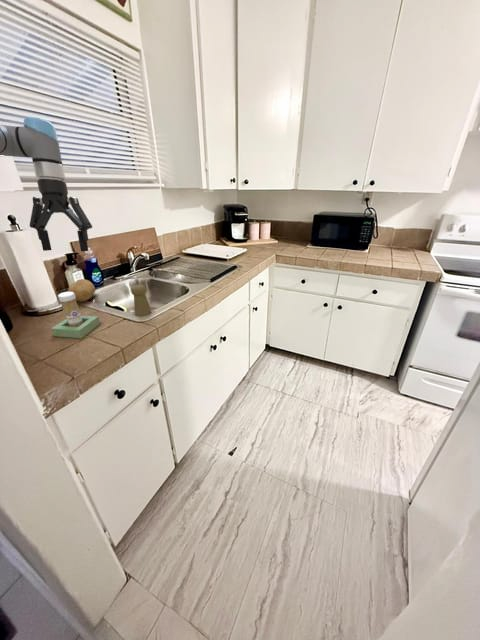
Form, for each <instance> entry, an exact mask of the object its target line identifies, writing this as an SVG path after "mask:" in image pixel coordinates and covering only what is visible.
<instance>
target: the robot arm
mask: <svg viewBox="0 0 480 640" xmlns="http://www.w3.org/2000/svg"><path fill="white" fill-rule="evenodd" d="M0 155H4V156H3V157H17V158H19V157H20V158H21V157H22V158H31V160H32V165H33V169H34V174H35V177H36V178H37V181H36V183H37V187H38V191H39V193H40V194H41V197H38V196H32V210H31V215H30V220H29V227H30V228H31V229H34V230H36V232H37V236H38V240H39V241H40V243H41V248H42V251H43V252H47V251H52V245H51V241H50V235H49V232H48V230H47V229H46V227H47V225H48V223H49V221H50V219H51V217H52V215H54V213H55V214H59V213H61V214H64V215H65V216H66V217H67V218H68V219H69V220H70V221H71V222H72V223H73V224H74V225H75V226H76V228H77V230H76V231H77V238H78V243H79V249H80V252H89V246H88V241H89V236H88V235H89V233H88V230H90V229H93V225H92V223H91V221H90V220H89V218H88V216H87V215H86V214H85V211H84V210H83V209H82V206H81V205H80V201H79V198H77V197H74V196H69V197H68V195H69V192H68V191H69V190H68V185H67V183H66V181H65V180H66V175H65V171H64V165H63V160H62V154H61V148H60V141H59V139H58V135H57V131H56V127H55V125H54V124H52V122H50V121H49V120H46V119H43V118H40V117H35V116H31V117H28V116H27V117H25V118H23V126H22V125H21V126H15V125H7V124H0ZM70 206H71V207H70Z"/></svg>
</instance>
